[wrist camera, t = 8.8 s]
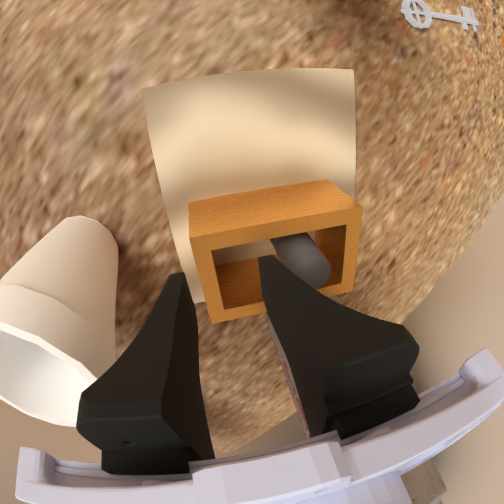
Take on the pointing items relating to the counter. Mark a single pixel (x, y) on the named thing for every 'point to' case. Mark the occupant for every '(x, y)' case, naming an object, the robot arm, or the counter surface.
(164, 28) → the counter surface
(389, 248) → the counter surface
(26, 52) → the counter surface
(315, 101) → the board
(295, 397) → the thermos bottle
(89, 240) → the foam cup
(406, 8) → the key
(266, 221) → the orange wooden hollow box
